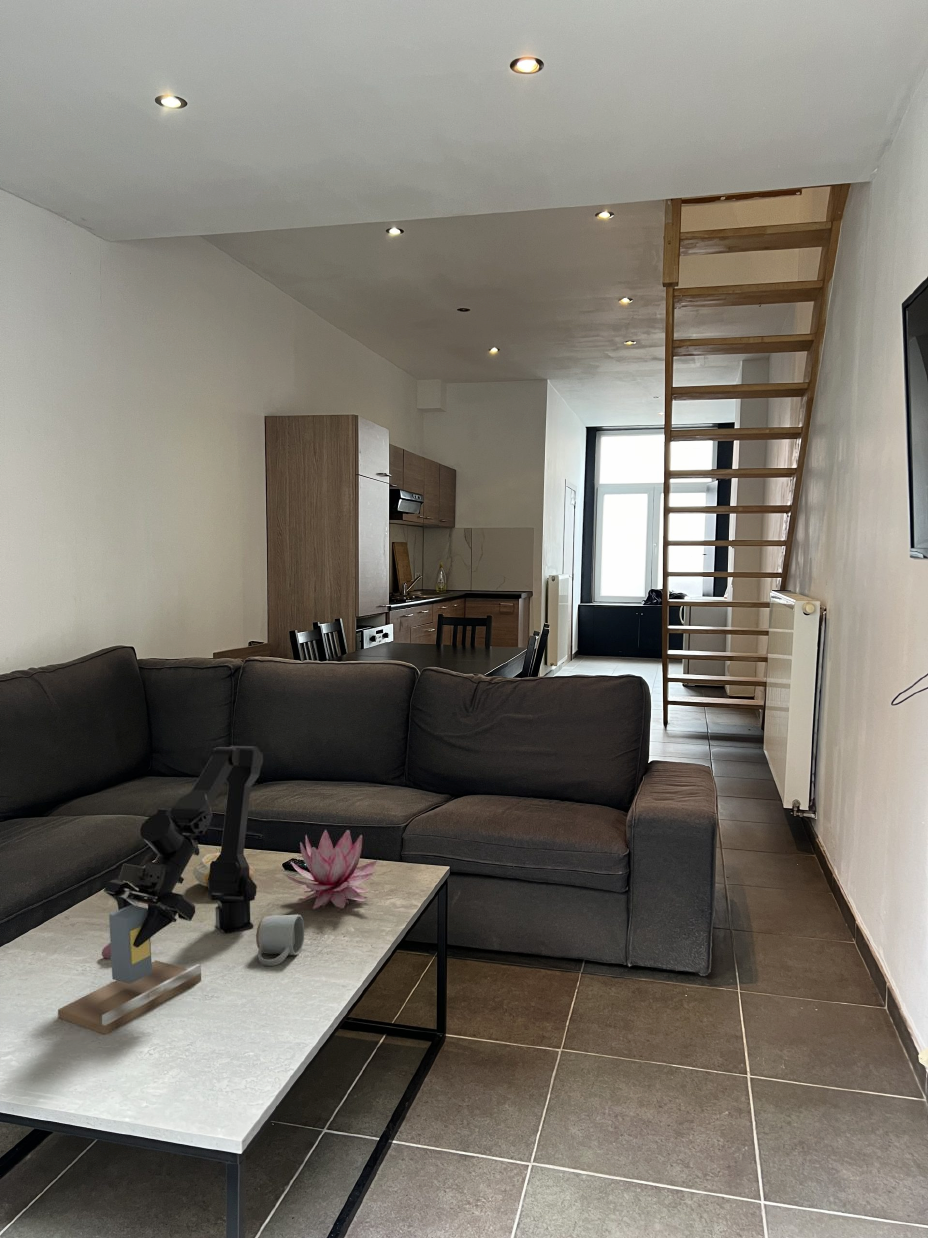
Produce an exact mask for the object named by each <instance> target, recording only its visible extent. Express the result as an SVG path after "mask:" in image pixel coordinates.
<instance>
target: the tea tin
mask: <svg viewBox="0 0 928 1238" xmlns="http://www.w3.org/2000/svg"><path fill="white" fill-rule="evenodd" d="M147 915H148V907H144V906H134V905H130V906H127V907H125V908H123V909H120V910H118V909H117V910H116V911H114V912H112V913H109V914H108V918H109V922H108V923H109V939H110V940H109V941H110V942H109V943H111V960H110V961H111V977H112V978H111V979H112V980H114V981H116V980H117V981H121V982H124V983H128V984H132V983H133V982H135V981H137V980H139V979H141V978H143V977H145V976H147V975H149V974H151V973H152V962H153V961H152V948H151V947H152V945H151V944H152V943H151V938H149V939H148V940H147V941H146V942H144V943H143V944H142V945H141V946H139V947H138V948H137V947H135V946H134V945H133V944H134V941H135V939H136V937H137V935H138V933H139V931H140V929H141V927H142V925H143V923H144V921H145V919H146V917H147Z"/></svg>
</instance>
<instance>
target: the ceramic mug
mask: <svg viewBox="0 0 928 1238" xmlns="http://www.w3.org/2000/svg"><path fill="white" fill-rule="evenodd" d="M304 923H305V922H304V919H303V917H302V916H301V914H287V915H286V914H284V915H283V914H282V915H268V916H265V917H263V918H261V920H259V922H258V925H257V928H256V935H255V938H256V939H255V941H256V946H257V949H258V951H257V956H258V959H259V962H260V964H262V965H264V966H267V967H273V966H274V967H275V966H276V965H280V963H282V962H283V961H284V960H285V959H286V958H287V956H298V955H299V954H300V953H301V952H302V949H303V945H304V941H305V924H304ZM263 953H264V954H270V955H271V954H272V955H273V954H274V955H275V954H276V955H278V956H277V957H275V958H272V959H265V958H264V957H262V955H263Z"/></svg>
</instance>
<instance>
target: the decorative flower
mask: <svg viewBox="0 0 928 1238" xmlns="http://www.w3.org/2000/svg"><path fill="white" fill-rule="evenodd" d="M299 846H300V853H301V857H302V859H303V862H304V864H305V865H306V868H307V869H308V870H309V872H308V871H307V870H305V869H302V868H301V867H299V866H298V865H297V864H296V863H294V862H292V861H290V865H292V867H293V868H294V869H295V870H296V872H297V873H299V875H301V877H303V878H305V879H307V880H309V881H310V882H307V881H303V880H298V879H296V878H293V877H292V876H289V875H287V874H284V876H285V877H286V878H288V879H289V880H290V881H293V882H295V883H296V884H299V885H304V886H305V888H307V889H308V890H300V892H302V893H304V894H305V893H306V894H307V893H311V892H312V893H311V894H309V895H308V896H305V897H304V898H301V899H299V900H297V902H306V901H309V900H311V899H312V898H315V897H316V900H315V902H314V905H313V907H312V909H317V908H319V907H320V906H322V908H324V907H326V905H327V904H329V902H330V901H331V903H332V904H333V905H334V906H335V907H336V908H341V909H343V908H344V907H345V905H346V904H350V903H349V900H352V901H353V900H355V901H361V902H362V901H363V902H364V901H366V898H365V897H364V896H363V895H362V894H360V893H363V892H367V891H369V889H368V888H363V887H359V886H360V885H361V884H363V883H365V882H366V881H368V880H369V879H370V878H372V876H373V875H375V873H376V871H374V872H372V871H373V870H374V868H375V866H376V865H377V864H378V862H379V859H377V860H374V861H371V862H369V863H365V864H363V865H360V866H358V865H359V862H360V857H361V854H362V849H363V848H362V847H363V835H362V834H360V835H359V837H358V838H357V839H356V840H355V842H354V843H353V841H352V836H351V831H350V830H348V829H347V830H346V831H345V832H344V834H343V835H342V836H341V837H340V839H339V840H338V841H337V843H336V845H335V847H334V845H333V843H332V840H331V838H330V834H329V833H328V831H327V829H325V830H324V831H323V833H322V835H321V838H320V841H319V844H318V846H317V847H318V848H316V847H314V846H313V847H312V845H311V843H310V841H309V838H308V836H307V834H305V846H304V844H303V843H302V842H301V841H300V842H299ZM371 872H372V873H371Z"/></svg>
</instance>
